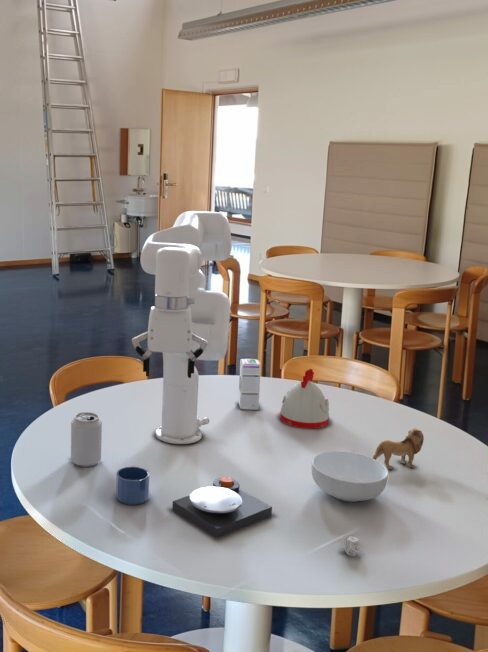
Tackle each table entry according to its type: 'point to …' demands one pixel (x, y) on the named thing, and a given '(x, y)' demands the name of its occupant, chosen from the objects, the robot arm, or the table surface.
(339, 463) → the cereal bowl
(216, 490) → the pan
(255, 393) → the syrup box
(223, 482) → the button
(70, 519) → the table surface
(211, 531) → the scale
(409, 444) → the lion figurine
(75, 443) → the can
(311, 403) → the kitchen timer
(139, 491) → the blue cup
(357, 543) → the game die
